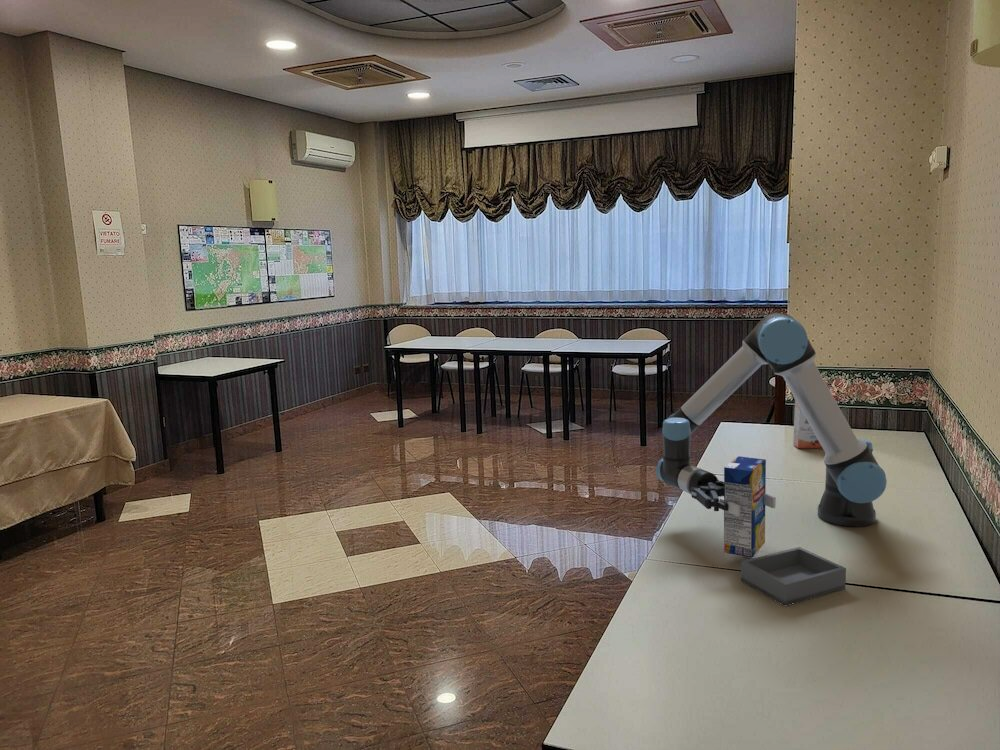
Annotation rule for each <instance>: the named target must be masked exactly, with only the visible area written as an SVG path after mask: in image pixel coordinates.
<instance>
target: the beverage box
mask: <svg viewBox="0 0 1000 750" xmlns="http://www.w3.org/2000/svg"><path fill="white" fill-rule="evenodd" d="M766 466H767V460H766V459H763V458H756V457H747V456H737V457H736V458H734V459H733V460H732V461H730V462H729V463H728V464H726V465H725V466H724V467H723V482H724V496H723V498H724V504H728V502H733V503H736V504H738V505H740V516H735V515H733V514H731V513H729V512H728V510H723V521H724V522H723V552H724V554H725V553H726V554H730V555H735V556H740V557H745V558H748V559H753V558H754V557H755V555H756V553H758V551H760V549H761V548H762V547H763V546H764V545H765V543H766V505H764V494H766V493H767V492H766V486H767V485H766V481H767V480H766V478H767V475H766V473H767V471H766V470H767V467H766Z"/></svg>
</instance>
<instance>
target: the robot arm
mask: <svg viewBox="0 0 1000 750" xmlns="http://www.w3.org/2000/svg"><path fill="white" fill-rule="evenodd" d="M807 335H808V334H807V332H806V329H805V328H804V326H803V325H802V324H801V322H799V321H798V320H796V319H795V318H793V316H791V315H789V314H786V313H784V312H783V313H782V312H774V313H770V314H768V315H766V316H765V317H764V316H763V318H761V320H760V321H759V322H758V323H757V324H756V326H755V327H754V328H753V329H752V330H751V332H750V333H749V334H748V335H747V336H746V337H745V338H744V339H743V340H742V345H741V347H740V348H739V349H738V350H737V351H736V352H734V354H733V355H732V356H731V357H730V358H729V359H727V361H726V362H724V364H723V365H722V366H721V367H720V368H719V369H718V370H717V371H716V372H715V373H714V374H712V376H710V378H709V379H707V381H706V382H704V384H703V385H701V387H700V388H699V389H698V390H696V392H694V394H693V395H692V396H690V398H689V399H688V400H687V401H686V402H685V403H684V404H683V405H682V406H681V407H680V408H679V409H678V410H676V412H674V413H672V414H671V415H669V417H667V419H664V420H663V422H662V431H661V432H662V433H661V434H662V451H663V453H662V454H663V455H662V458H660V459H659V460H658V461H657V465H656V467H655V473H656V477H657V478H658V480H660V481H662V482H663V483H664V484H666V485H668V486H670V487H673V488H676V489H678V490H681V491H683V492H685V493H687V494H689V495H691V498H692V499H694V500H696V501H698V502H699V503H700V504H701V505H702V506H703V507H704V508H706V510H707V509H708V510H711V509H712V508H713V511H714V512H719V511H720V510H722V511H724V510H728V512H729V513H731V514H733V515H735V516H740V505H738V504H736V503H733V502H728V504H724V480H723V481H722V480H719V478H718V477H717V476H716V474H714V473H713V472H709V471H708V470H704V469H703V468H700V467H697V466H695V465H692V464H691V435H692V434H693V433H694V431H696V430H697V429H698V427H700V426H701V425H702V424H703V423H704V422H705V421H706V420H707V418H709V417H710V416H711V415H712V414H713V413H714V412H715V411H716V410H717V409H718V408H719V407H720V406H721V405H723V403H724V402H725V401H726V400H727V399H728V398H729V397H730V396H732V395H733V394H734V393H735V392H736V391H737V390H738V389H739V388H740V387H741V386H742V385H743V384H744V383H745V382H746V381H747V380H748V379H749V378H750V377H751V376H752V375H754V373H755V372H756V371H758V370H759V369H760V368H761V366H762V365H769V367H770V369H771V370H772V372H773V374H774V375H778V376H781V377H783V380H784V381H785V383H786V385H787V387H788V389H789V391H790V392H791V394H792V395H793V397H794V400H795V399H796V401H797V403H798V405H799V406H800V408H801V410H802V412H803V414H804V415H805V417H806V419H807V421H808V422H809V424H810V426H811V428H812V430H813V431H814V433H815V435H816V437H817V439H818V440H819V442H820V444H821V446H822V447H823V448H822V449H823V452H824V454H825V455H824V457H823V463H824V465H825V482H824V483H825V485H824V486H825V487H824V488H825V489H824V492H823V494H822V496H821V499H820V502H819V503H818V506H817V516H818V518H820V519H821V520H822V521H825V522H826V523H830V524H833V525H837V526H843V527H852V526H853V527H858V528H859V527H867V526H871V525H873V524H875V522H876V521H877V518H876V517H877V512H876V510H875V508H874V505H873V502H875V500H877V499H879V498H880V497H881V496H882V495H883V494H884V492H885V490H886V489H887V477H886V473H885V472H886V471H884V469H883V468H882V467H881V466H880V465H879V463H878V461H877V460H876V458H875V456H874V454H873V452H874V449H873V443H872V442H871V441H870V440H867V439H862V438H857V437H856V435H855V433H854V432H853V429H852V427H851V426H850V424H849V422H848V420H847V418H846V417H845V415H844V414H843V412H842V410H841V408H840V407H839V406H840V405H838V401H837V402H836V401H835V399H834V397H833V395H832V393H833V392H832V393H831V390H830V388H829V386H828V384H827V383H826V381H825V380H824V377H823V376H822V374H821V372H820V370H819V369H818V367H817V365H816V363H815V359H816V355H817V353H816V350H815V348H814V347H813V346H812V343H811V342H810V340H809V338H808V336H807ZM719 497H720V498H719ZM764 505H765V507H769V508H770V509H776V497H775V496H773V495H771V494H768V493H765V494H764Z"/></svg>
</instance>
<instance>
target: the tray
mask: <svg viewBox="0 0 1000 750" xmlns="http://www.w3.org/2000/svg"><path fill="white" fill-rule="evenodd" d="M740 563H741V564H740V565H741V566H740V582H741V583H744V584H745V585H747V586H748V587H750V588H752V589H754V590H756V591H757V592H759V593H761V594H763V595H764V594H765V596H766V597H768V598H769V599H771V598H772V599H771V600H773V601H775V600H776V601H775V602H777V603H778V602H779V603H778V604H780V603H781V605H782V604H783V605H782V606H784V605H787V606H790V605H789V604H791V605H793V604H792V603H794V604H797V602H798V603H801V602H804V600H805V601H808V600H812V599H815V598H818V596H819V597H822V596H826V595H828V594H832V593H836V592H839V591H843V590H845V589H846V581H847V580H846V578H847V577H846V576H847V567H844V566H842V565H840V564H837V563H835V562H833V561H832V560H829V559H827V558H824V557H822V556H820V555H817V553H816V554H815V553H813V552H811V551H809V550H807V549H805V548H803V547H801V546H797V547H794V548H789V549H786V550H782V551H777V552H772V553H769V554H765V555H761V556H757V557H752V558H748V559H746V560H741V561H740ZM825 594H826V595H825ZM814 597H815V598H814ZM811 598H812V599H811ZM807 599H808V600H807ZM800 601H801V602H800Z"/></svg>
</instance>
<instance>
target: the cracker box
mask: <svg viewBox="0 0 1000 750" xmlns="http://www.w3.org/2000/svg"><path fill="white" fill-rule="evenodd" d="M830 392H831V391H830ZM831 393H832V395H833V397H834V399H835V401H836V402H837V403H838V395H837V394H836V393H833V392H831ZM794 400H795V401H794V414H793V415H794V417H793V437H792V438H793V440H792V443H793V446H794V447H796V448H797V449H823V447H822V446H821V444H820V442H819V440H818V439H817V437H816V435H815V433H814V431H813V430H812V428H811V426H810V424H809V422H808V421H807V419H806V417H805V415H804V414H803V412H802V410H801V408H800V406H799V405H798V403H797V401H796V399H795V398H794Z"/></svg>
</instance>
